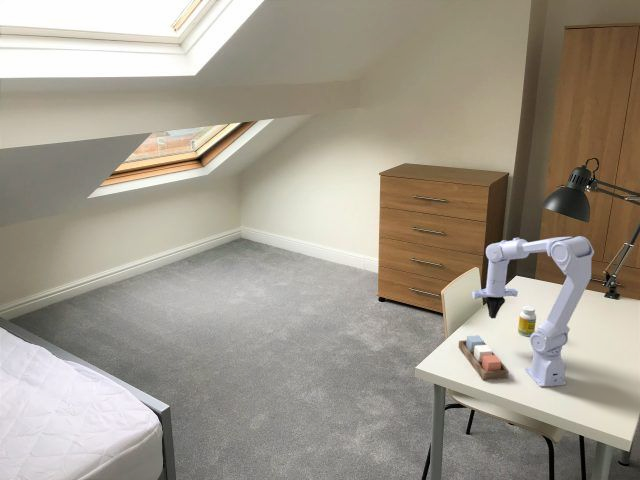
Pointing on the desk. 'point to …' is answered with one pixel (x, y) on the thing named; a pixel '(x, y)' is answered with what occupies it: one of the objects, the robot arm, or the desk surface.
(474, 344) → the key blue
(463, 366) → the desk surface
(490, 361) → the key terracotta
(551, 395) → the desk surface
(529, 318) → the supplement bottle
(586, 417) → the desk surface
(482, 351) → the key white
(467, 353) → the frame
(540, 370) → the robot arm
